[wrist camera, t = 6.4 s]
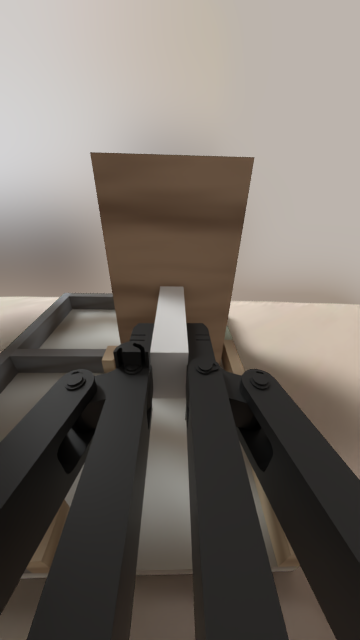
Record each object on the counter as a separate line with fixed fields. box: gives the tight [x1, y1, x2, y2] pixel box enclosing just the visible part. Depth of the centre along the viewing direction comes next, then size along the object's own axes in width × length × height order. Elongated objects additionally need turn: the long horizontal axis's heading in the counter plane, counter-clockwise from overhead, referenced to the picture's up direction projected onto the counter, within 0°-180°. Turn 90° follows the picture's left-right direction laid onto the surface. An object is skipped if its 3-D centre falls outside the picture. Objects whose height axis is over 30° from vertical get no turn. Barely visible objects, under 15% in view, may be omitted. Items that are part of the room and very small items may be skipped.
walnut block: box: [91, 152, 254, 365], centre depth 18 cm, size 8×8×16 cm
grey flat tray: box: [0, 293, 300, 579], centre depth 20 cm, size 25×21×3 cm
